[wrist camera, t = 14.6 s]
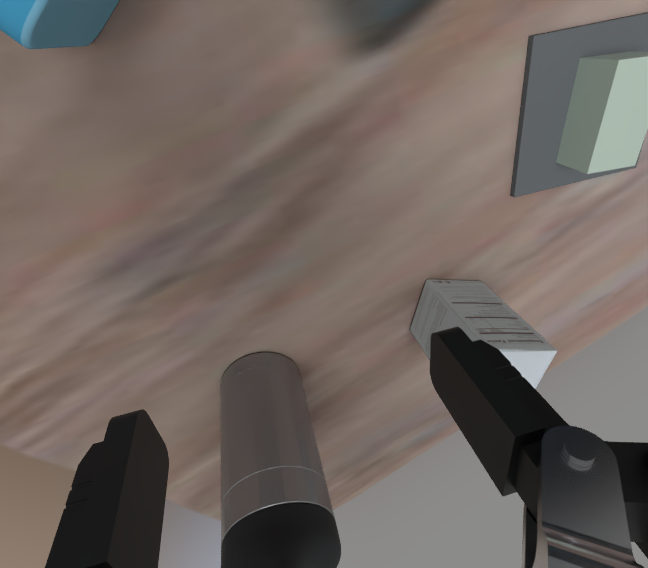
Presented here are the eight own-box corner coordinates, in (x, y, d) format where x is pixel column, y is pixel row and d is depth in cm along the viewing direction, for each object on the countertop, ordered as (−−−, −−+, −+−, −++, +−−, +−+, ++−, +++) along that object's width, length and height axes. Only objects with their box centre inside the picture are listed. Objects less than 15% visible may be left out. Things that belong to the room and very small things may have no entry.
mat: (631, 165, 42) (635, 167, 41) (510, 195, 40) (514, 197, 40) (676, 6, 34) (682, 6, 34) (529, 36, 33) (533, 35, 32)
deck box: (630, 51, 35) (673, 52, 31) (600, 155, 40) (635, 165, 36) (580, 57, 34) (619, 60, 31) (555, 162, 39) (587, 174, 36)
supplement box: (460, 330, 49) (526, 408, 39) (407, 329, 47) (461, 412, 37) (482, 279, 46) (561, 350, 35) (425, 276, 44) (491, 351, 33)
